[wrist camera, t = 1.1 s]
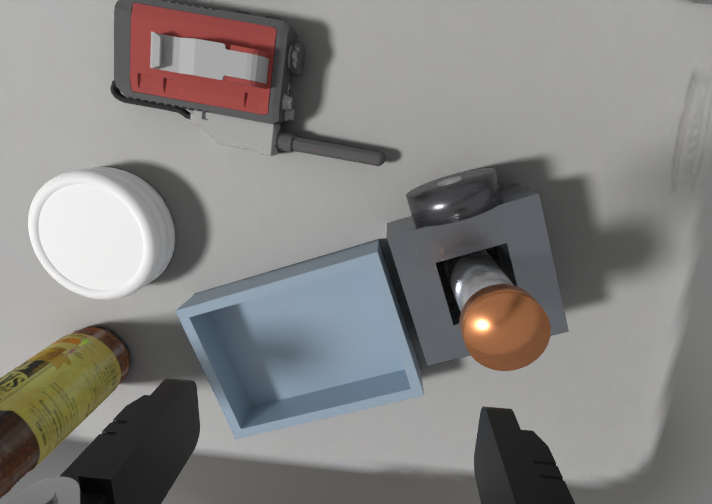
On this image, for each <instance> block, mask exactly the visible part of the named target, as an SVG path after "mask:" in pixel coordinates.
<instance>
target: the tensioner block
mask: <svg viewBox="0 0 712 504" xmlns="http://www.w3.org/2000/svg"><path fill="white" fill-rule="evenodd" d="M406 197H407V200H408V203H409V207H410V210H411V214H412V216H410V217H407V218H403V219H400V220H397V221H393V222H390V223H387V240H388V243H389V246H390V249H391V252H392V256H393V259H394V262H395V265H396V268H397V271H398V275H399V278H400V281H401V284H402V287H403V290H404V294H405V297H406V300H407V303H408V306H409V309H410V313H411V316H412V319H413V322H414V325H415V328H416V332H417V335H418V338H419V341H420V344H421V347H422V351H423V354H424V357H425V360H426V363H427V366H429V365H433V364H437V363H441V362H445V361H449V360H454V359H458V358H462V357H466V356H470V353H469V351H468V350H467V347H466V345H465V342H464V339H463V336H462V333H461V330H460V323H459V321H460V314H461V311H460V309H459V306H458V304H457V301H456V298H452V299H448V300H446V298H445V294H444V291H443V288H442V284H441V281H440V277H439V274H438V270H437V267H436V263H437V262H441V261H444V260H448V259H452V258H455V257H459V256H462V255H466V254H469V253H473V252H476V251H480V250H483V249H487V248H491V247H494V246H496V249H497V253H498V257H499V261H500V265H501V269H502V271H503V272H504V273H505V274H506V276H507V277H508V278H509V280H510V281H511V282H512V283H513V285H514V286H518V287H520V288H522V289H524V290H525V291H527V292H528V293H529V294H531V296H532V297H533V298H534V299H535V300H536V301H537V302H538V304H539V305H540V306H541V307H542V308H543V310H544V311H545V312H546V314H547V316H548V318H549V322H550V327H551V334H550V336H552V335H556V334H560V333H564V332H568V331H569V330H568V326H567V321H566V316H565V312H564V307H563V302H562V298H561V293H560V288H559V284H558V279H557V274H556V270H555V265H554V260H553V256H552V251H551V246H550V242H549V237H548V232H547V228H546V223H545V218H544V214H543V209H542V204H541V200H540V195H539V193H538V192H535V191H533V190H531V189H529V188H526V187H524V186H522V185H520V184H516V185H513V186H510V187H506V188H503V189H500V187H499V183H498V179H497V175H496V170H495V169H494V168H481V169H475V170H469V171H465V172H461V173H457V174H453V175H449V176H446V177H443V178H440V179H437V180H434V181H431V182H429V183H426V184H424V185H421V186H419V187H417V188H415V189H413V190H411V191H410V192H408V193H407V195H406Z"/></svg>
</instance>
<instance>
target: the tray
mask: <svg viewBox="0 0 712 504" xmlns="http://www.w3.org/2000/svg"><path fill="white" fill-rule="evenodd" d="M176 313H177V315H178V318H179V320H180V322H181V324H182V326H183V328H184V330H185V332H186V334H187V337H188V339H189V341H190V343H191V345H192V347H193V349H194V351H195V354H196V356H197V358H198V360H199V362H200V364H201V366H202V368H203V371H204V373H205V375H206V377H207V379H208V381H209V383H210V385H211V388H212V390H213V392H214V394H215V396H216V398H217V400H218V402H219V405H220V407H221V409H222V411H223V413H224V415H225V417H226V419H227V422H228V424H229V426H230V428H231V430H232V432H233V434H234V436H235V439H238V438H243V437H247V436H251V435H256V434H260V433H264V432H268V431H273V430H277V429H281V428H286V427H290V426H294V425H298V424H303V423H307V422H311V421H316V420H320V419H324V418H328V417H333V416H337V415H341V414H346V413H350V412H354V411H358V410H363V409H367V408H371V407H376V406H380V405H384V404H388V403H393V402H397V401H401V400H406V399H410V398H414V397H418V396H423V395H424V391H423V384H422V376H421V370H420V366H419V363H418V360H417V357H416V354H415V351H414V348H413V345H412V342H411V338H410V335H409V332H408V329H407V326H406V323H405V320H404V317H403V314H402V310H401V307H400V304H399V301H398V298H397V295H396V292H395V289H394V286H393V282H392V279H391V276H390V273H389V270H388V267H387V264H386V261H385V258H384V254H383V251H382V248H381V245H380V242H379V239H377V240H374V241H371V242H367V243H364V244H361V245H357V246H354V247H350V248H347V249H344V250H340V251H337V252H334V253H330V254H327V255H323V256H320V257H317V258H313V259H310V260H307V261H303V262H300V263H296V264H293V265H290V266H286V267H283V268H280V269H276V270H273V271H270V272H266V273H263V274H259V275H256V276H253V277H249V278H246V279H243V280H239V281H236V282H232V283H229V284H226V285H222V286H219V287H216V288H212V289H209V290H205V291H202V292H199V293H195V294H194V295H193V296H192V297H191V298H190V299H188V300H187V301H186V302H185V303H184V304H183V305H182V306H180V307H179V308H178V309H177V310H176Z"/></svg>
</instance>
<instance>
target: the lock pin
mask: <svg viewBox="0 0 712 504" xmlns="http://www.w3.org/2000/svg"><path fill="white" fill-rule="evenodd" d="M444 269H445V273H446V275H447V278H448V281H449V283H450V286H451V288H452V291H453V293H454V296H455V298H456V301H457V304H458V306H459V309H460V311H461V314H460V321H459V323H460V330H461V333H462V336H463V339H464V342H465V345H466V347H467V350H468V351H469V353H470V355H471V356H472V357H473V358H474V359H475V360H476V361H477V362H478V363H480V364H481V365H483V366H485V367H487V368H490V369H494V370H499V371H510V370H516V369H520V368H522V367H525V366H527V365H529V364H531V363H532V362H534V361H535V360H536V359H537V358H538V357H539V356H540V355H541V354H542V353H543V352H544V350H545V349H546V347H547V345H548V342H549V339H550V334H551V327H550V322H549V318H548V316H547V314H546V312H545V311H544V310H543V308H542V307H541V306H540V305H539V304H538V302H537V301H536V300H535V299H534V298H533V297H532V296H531V294H529V293H528V292H527V291H525V290H524V289H522V288H520V287H518V286H514V285H513V283H512V282H511V281H510V280H509V278H508V277H507V276H506V274H505V273H504V272H503V271H502V269H501V268H500V267H499V266H498V264H497V263H496V262H495V261H494V259H493V258H492V257H491V256H490V254H489V253H488V252H487V251H486V249H483V250H480V251H476V252H473V253H469V254H466V255H462V256H459V257H455V258H452V259H448V260H445V262H444Z"/></svg>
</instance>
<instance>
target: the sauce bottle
mask: <svg viewBox="0 0 712 504" xmlns="http://www.w3.org/2000/svg"><path fill="white" fill-rule="evenodd" d="M129 363H130V358H129V354H128V351H127V348H126V347H125V345H124V344H123V343H122V341H121V340H120V339H118V338H117V337H116V336H115V335H114V334H112V333H111V332H109V331H108V330H105V329H102V328H96V327H89V328H83V329H80V330H76V331H75V332H73V333H72V334H69V335H66V336H64V337H62V338H60V339H59V340H57V341H56V342H54V343H53V344H51V345H50V346H48V347H47V348H45V349H44V350H42V351H41V352H39V353H38V354H36V355H35V356H33V357H32V358H30V359H29V360H27V361H26V362H24V363H23V364H21V365H20V366H18V367H16V368H15V369H13V370H12V371H10V372H9V373H8V374H6V375H5V376H3V377H1V378H0V498H1V497H2V496H4V495H5V494H6V493H8V492H9V491H10V489H11V488H12V487H13V486H14V485H15V484H16V483H17V482H18V481H19V480H20V479H21V478H22V477H23V476H24V475H25V474H26V473H27V472H29V471H31V470H32V469H34V468H35V467H36V466H37V465H38V464H39V463H40V462H41V461H42V460H43V459H44V458H45V457H46V456H47V455H48V454H49V453H50V452H52V450H54V449H55V448H56V447H57V446H58V445H59V444H60V443H61V442H62V441H63V440H64V439H65V438H66V437H67V436H68V435H69V434H70V433H71V432H72V431H73V430H74V429H75V428H76V427H77V426H78V425H79V424H80V423H81V422H82V421H83V420H84V419H85V418H87V417H88V416H89V415H90V414H91V413H92V412H93V411H94V410H95V409H96V408H97V407H98V406H99V405H100V404H101V403H102V402H103V401H104V400H105V399H106V398H107V397H108V396H109V395H110V394H111V393H112V392H113V391H114V390H115V389H116V388H117V386H118V385H119V384H120V383H121V382H122V381H123V380H124V378H125V377H126V375H127V374H128V370H129Z"/></svg>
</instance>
